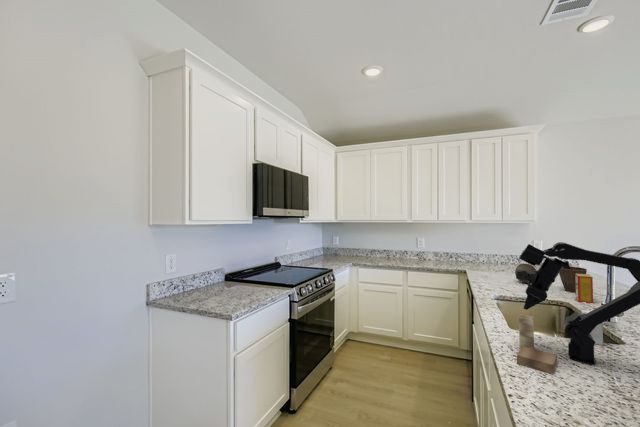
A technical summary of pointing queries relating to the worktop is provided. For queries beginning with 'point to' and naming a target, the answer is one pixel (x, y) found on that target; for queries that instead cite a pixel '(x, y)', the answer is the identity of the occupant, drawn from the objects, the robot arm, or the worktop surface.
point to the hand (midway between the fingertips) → (525, 305)
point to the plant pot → (570, 277)
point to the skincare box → (596, 332)
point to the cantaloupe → (526, 268)
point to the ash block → (526, 331)
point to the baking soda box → (584, 288)
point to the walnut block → (537, 359)
